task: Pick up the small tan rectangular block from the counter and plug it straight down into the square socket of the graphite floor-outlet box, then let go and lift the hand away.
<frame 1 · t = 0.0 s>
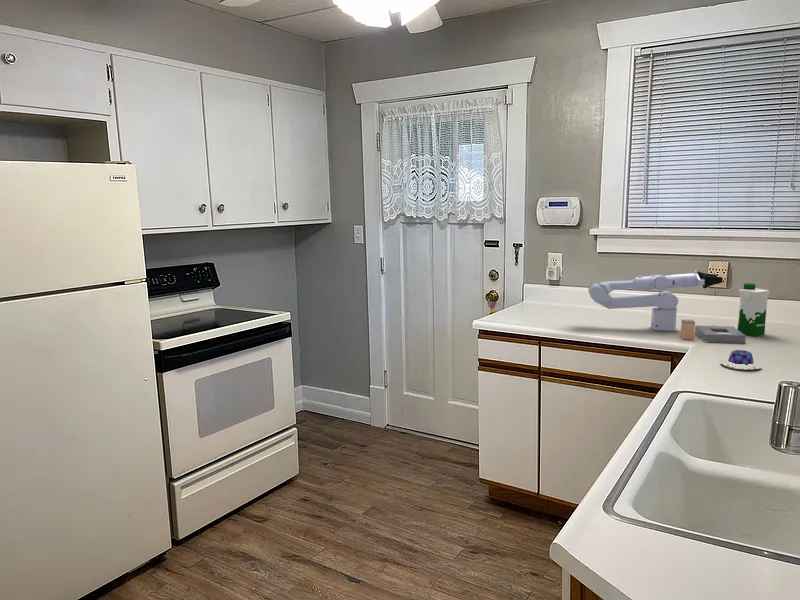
hand: (719, 278, 247), 22 cm above the counter, tool horizontal, fingers open, 7 cm apart
outlet box: (719, 337, 238), on the counter
milk carton: (750, 334, 244), on the counter
tan rectangular block: (687, 338, 239), on the counter
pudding: (740, 367, 200), on the counter
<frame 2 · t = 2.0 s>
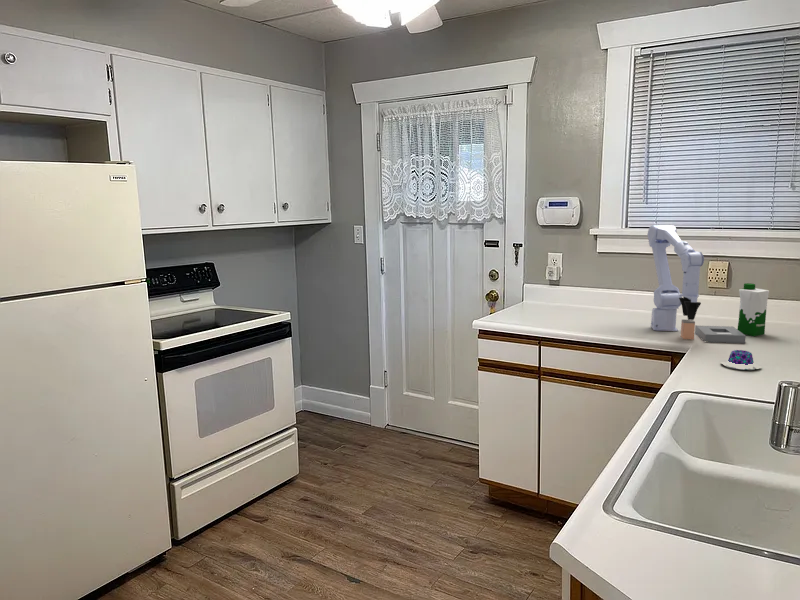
hand: (688, 317, 238), 8 cm above the counter, tool pointing down, fingers open, 7 cm apart
nothing on the counter moved.
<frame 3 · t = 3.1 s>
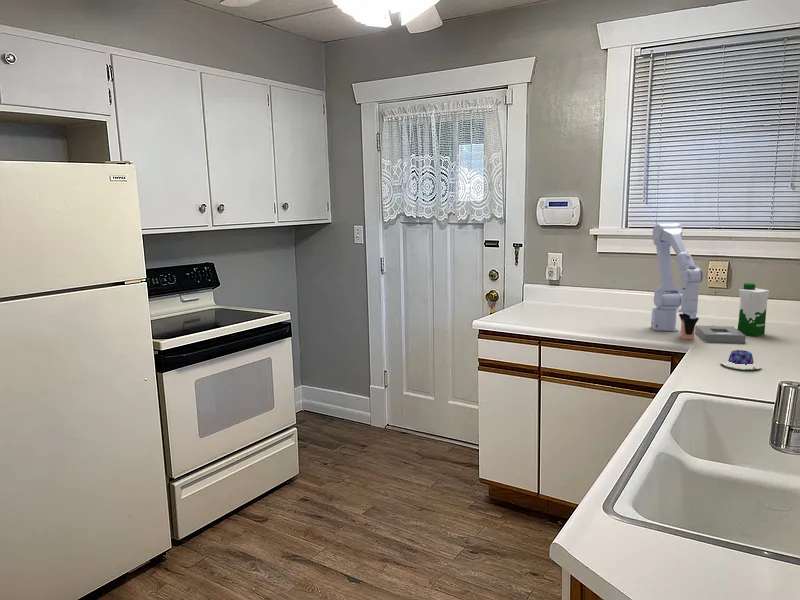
hand: (687, 333, 239), 2 cm above the counter, tool pointing down, fingers closed on tan rectangular block, 4 cm apart
tan rectangular block: (687, 337, 239), on the counter, touching gripper
everything else where it was.
when the fingers open (4 cm above the counter, at t = 6.7 s): tan rectangular block drops 2 cm, resting in outlet box.
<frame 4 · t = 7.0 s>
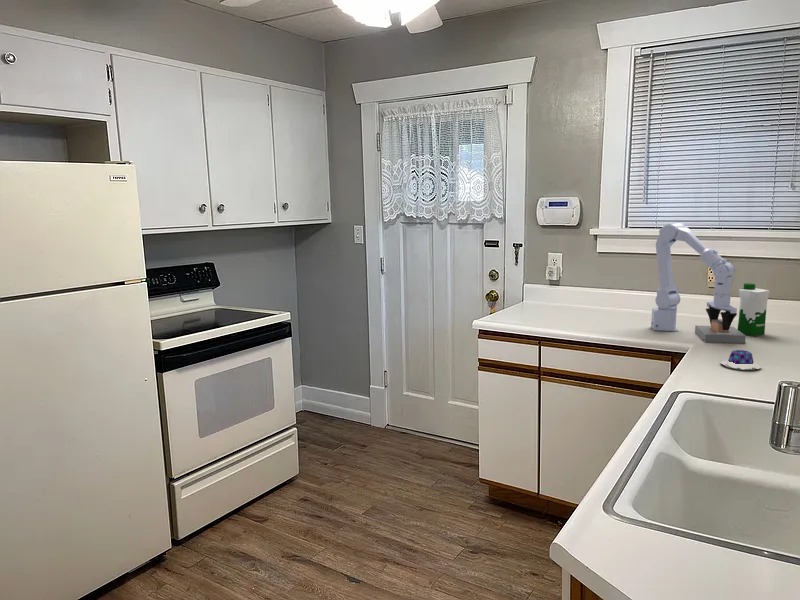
hand: (719, 328, 238), 4 cm above the counter, tool pointing down, fingers open, 6 cm apart
tan rectangular block: (718, 337, 238), resting in outlet box
everything else where it was.
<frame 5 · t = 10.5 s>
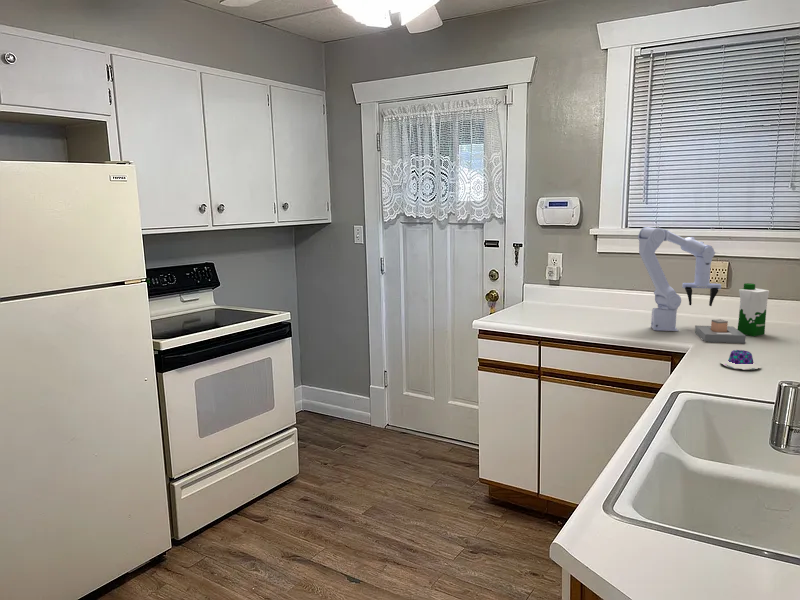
hand: (700, 305, 256), 9 cm above the counter, tool pointing down, fingers open, 7 cm apart
nothing on the counter moved.
at the end: tan rectangular block 0.3 cm off-centre on the outlet box, point 0.0 cm above the outlet box's base; tan rectangular block tilted 0°; the gripper is holding nothing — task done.
